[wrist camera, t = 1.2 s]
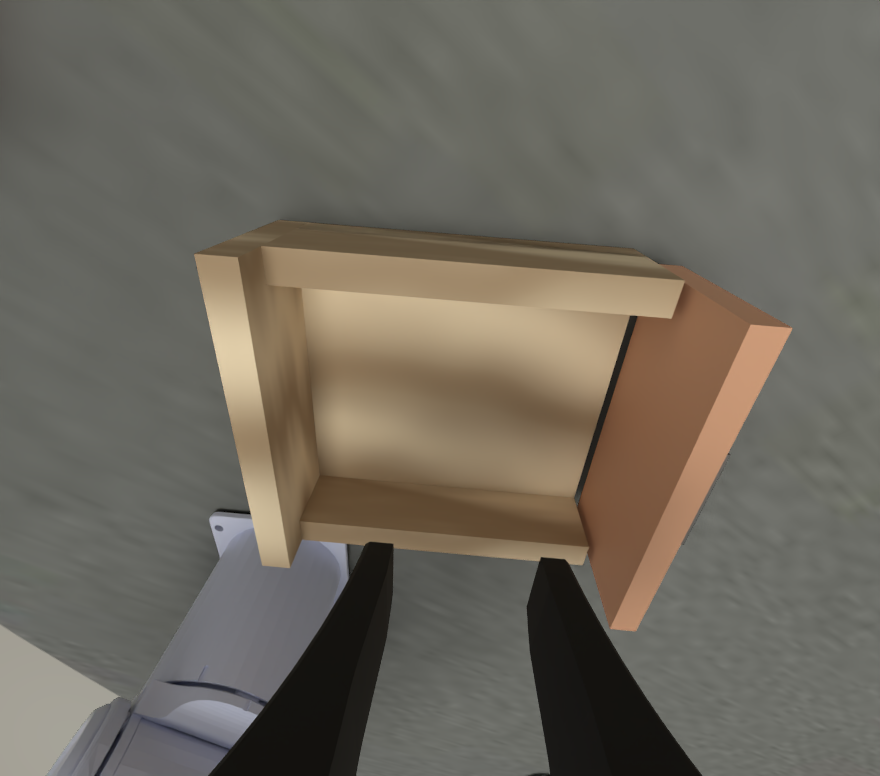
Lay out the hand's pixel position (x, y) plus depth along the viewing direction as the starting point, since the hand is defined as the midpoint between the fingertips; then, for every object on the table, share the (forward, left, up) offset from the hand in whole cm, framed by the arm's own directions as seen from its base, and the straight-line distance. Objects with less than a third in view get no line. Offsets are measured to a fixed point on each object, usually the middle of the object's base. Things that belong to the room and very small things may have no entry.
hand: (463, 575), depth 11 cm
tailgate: (0, -7, -9) cm, 12 cm away
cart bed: (0, +1, -10) cm, 10 cm away
